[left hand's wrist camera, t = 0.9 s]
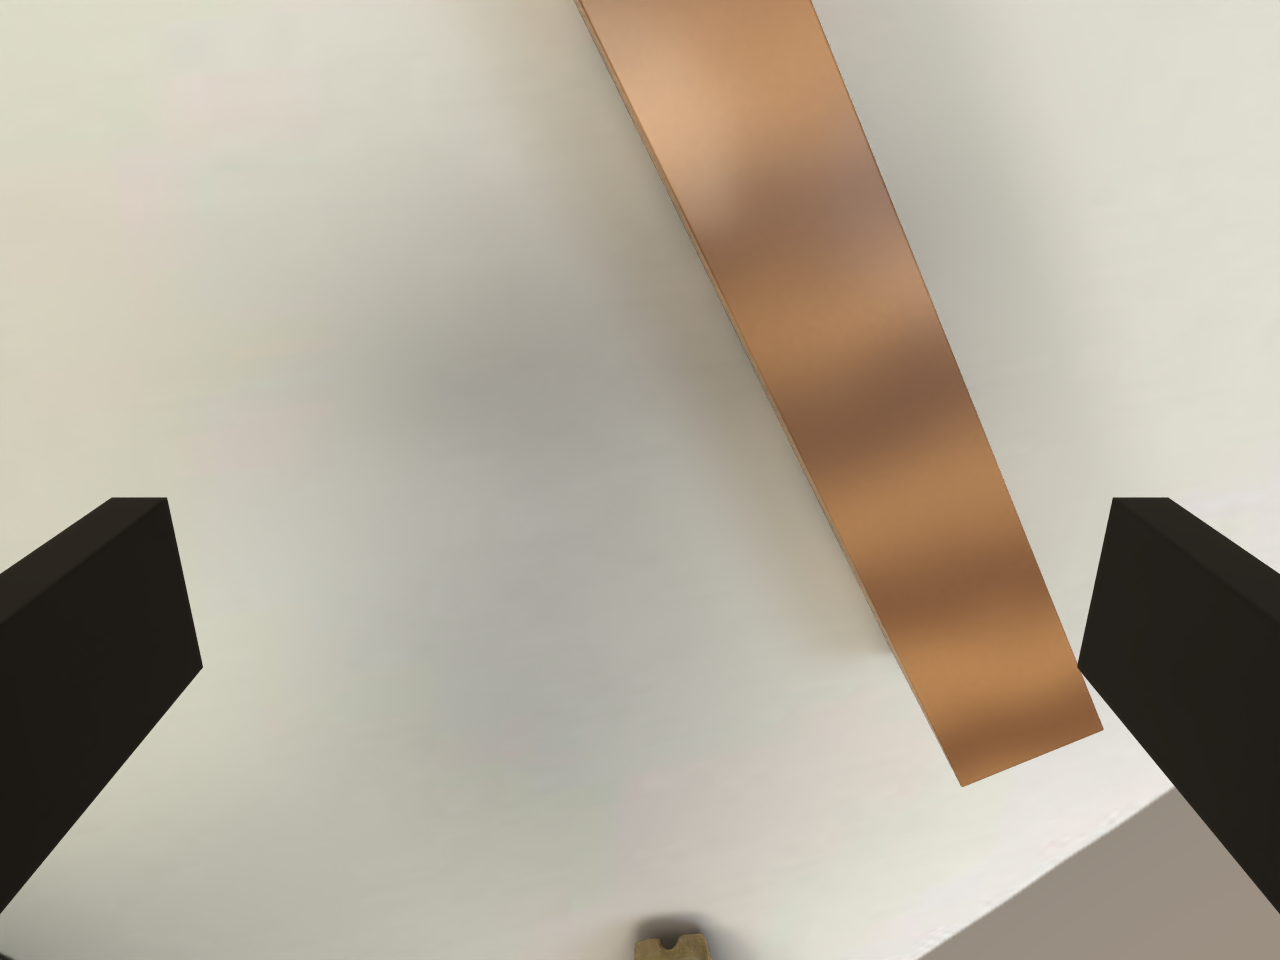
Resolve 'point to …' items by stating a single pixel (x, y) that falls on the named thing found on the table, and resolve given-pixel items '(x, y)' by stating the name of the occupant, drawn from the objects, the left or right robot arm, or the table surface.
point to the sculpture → (674, 949)
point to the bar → (851, 358)
